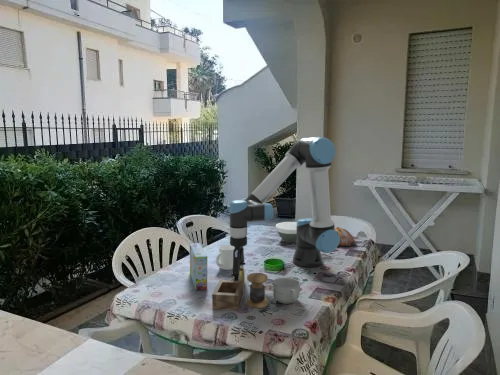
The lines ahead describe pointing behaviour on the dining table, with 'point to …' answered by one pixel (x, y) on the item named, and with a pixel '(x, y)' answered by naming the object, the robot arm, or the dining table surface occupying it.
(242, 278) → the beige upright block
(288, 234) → the bowl
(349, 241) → the bread
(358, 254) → the dining table surface
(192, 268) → the snack box
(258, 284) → the bobbin
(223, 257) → the mug
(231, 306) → the open wooden crate
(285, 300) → the teacup
